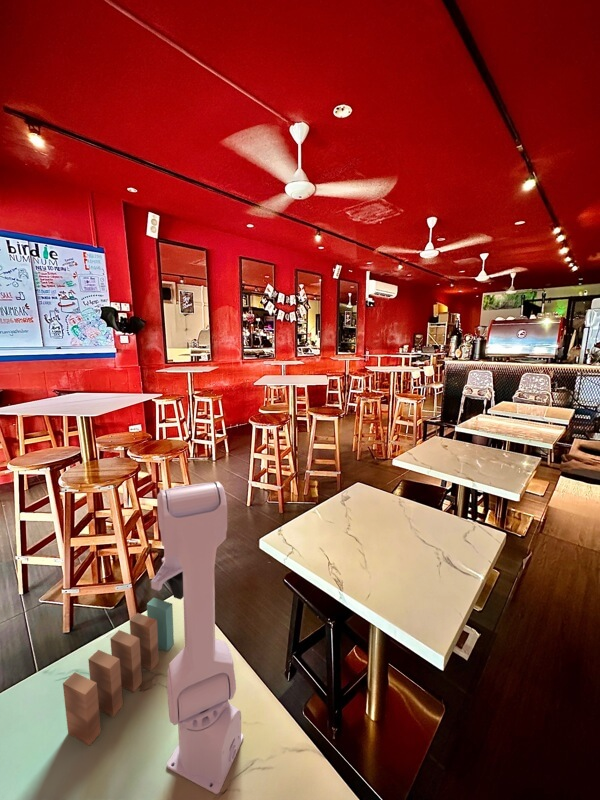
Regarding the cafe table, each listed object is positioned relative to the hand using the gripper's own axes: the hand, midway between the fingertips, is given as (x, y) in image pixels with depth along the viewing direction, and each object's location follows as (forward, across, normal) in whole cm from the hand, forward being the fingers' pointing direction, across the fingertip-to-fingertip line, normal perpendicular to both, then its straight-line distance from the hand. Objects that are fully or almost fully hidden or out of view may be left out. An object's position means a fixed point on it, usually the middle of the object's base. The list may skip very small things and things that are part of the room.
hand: (179, 596), depth 77 cm
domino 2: (+7, +20, 0) cm, 21 cm away
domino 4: (+7, +11, 0) cm, 13 cm away
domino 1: (+7, +24, 0) cm, 25 cm away
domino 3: (+7, +15, 0) cm, 17 cm away
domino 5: (+7, +6, 0) cm, 9 cm away
